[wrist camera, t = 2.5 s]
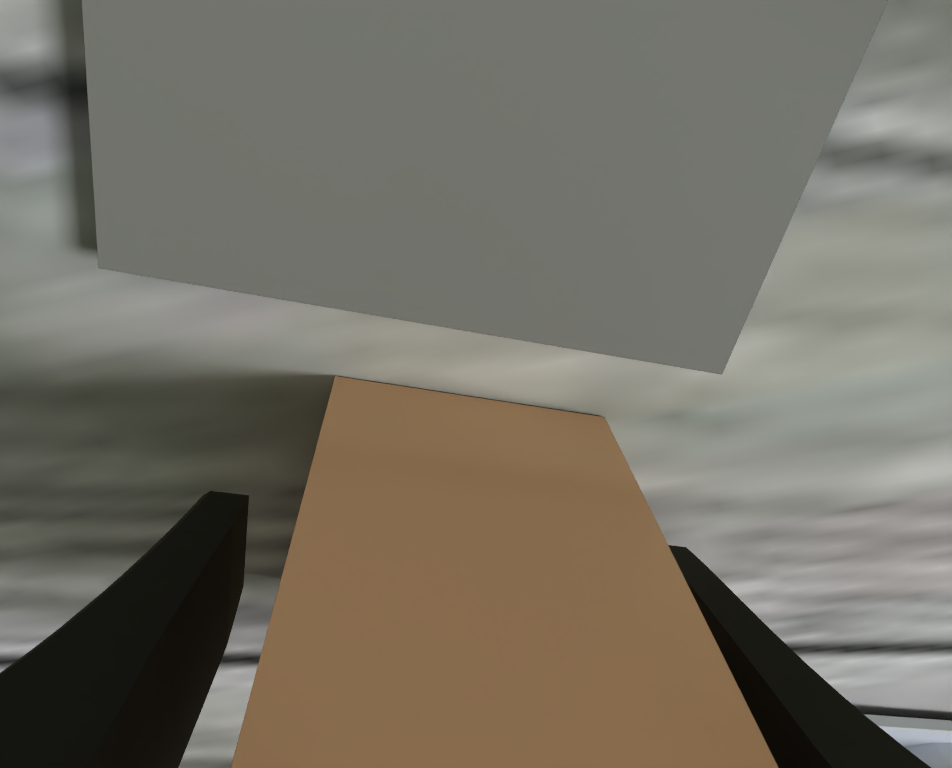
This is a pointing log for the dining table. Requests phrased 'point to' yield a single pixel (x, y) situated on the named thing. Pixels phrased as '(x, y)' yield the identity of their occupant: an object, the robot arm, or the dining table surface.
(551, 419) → the light orange block
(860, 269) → the dining table surface
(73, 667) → the robot arm
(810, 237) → the dining table surface
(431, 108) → the mat
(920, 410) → the dining table surface
